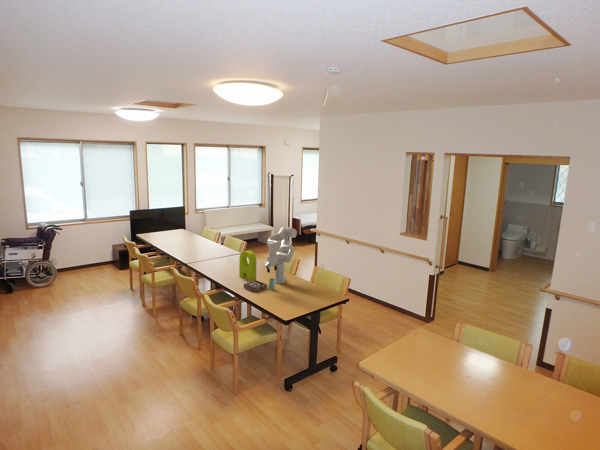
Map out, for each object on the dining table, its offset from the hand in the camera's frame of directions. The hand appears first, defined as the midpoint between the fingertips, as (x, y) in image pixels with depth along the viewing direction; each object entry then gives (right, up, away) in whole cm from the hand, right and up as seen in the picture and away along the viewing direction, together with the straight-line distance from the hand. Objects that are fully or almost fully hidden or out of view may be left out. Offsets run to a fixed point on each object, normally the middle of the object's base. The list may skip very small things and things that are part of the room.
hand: (271, 271), depth 369 cm
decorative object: (-28, -12, +32) cm, 44 cm away
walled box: (-17, -17, +3) cm, 24 cm away
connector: (-1, -18, +3) cm, 18 cm away
